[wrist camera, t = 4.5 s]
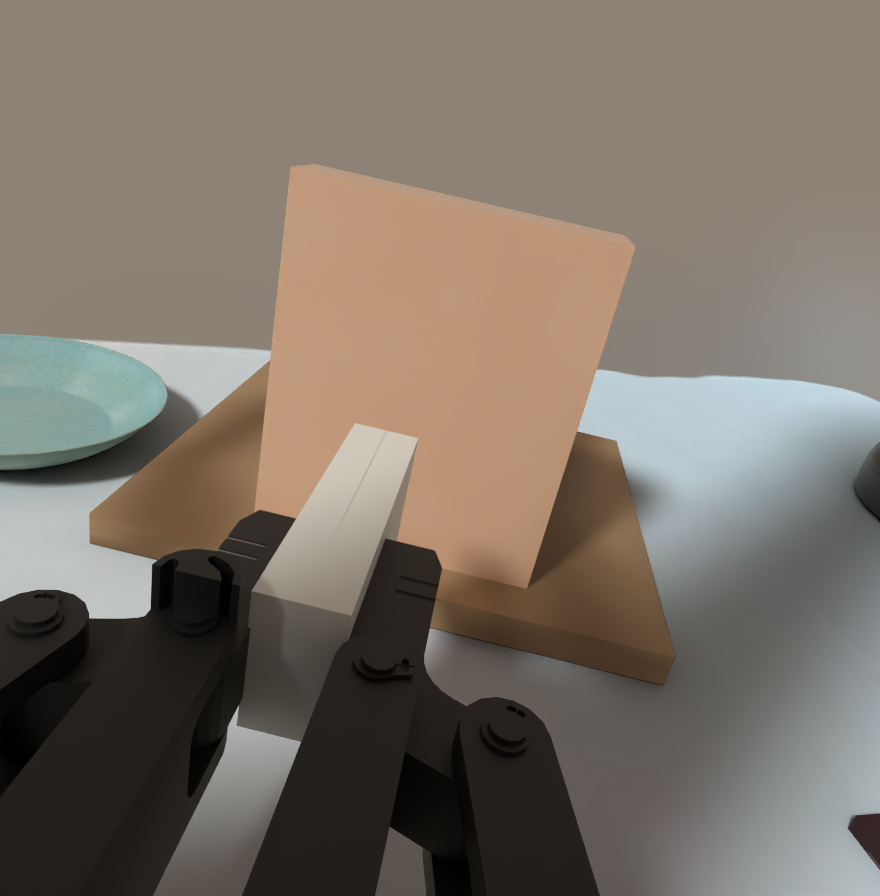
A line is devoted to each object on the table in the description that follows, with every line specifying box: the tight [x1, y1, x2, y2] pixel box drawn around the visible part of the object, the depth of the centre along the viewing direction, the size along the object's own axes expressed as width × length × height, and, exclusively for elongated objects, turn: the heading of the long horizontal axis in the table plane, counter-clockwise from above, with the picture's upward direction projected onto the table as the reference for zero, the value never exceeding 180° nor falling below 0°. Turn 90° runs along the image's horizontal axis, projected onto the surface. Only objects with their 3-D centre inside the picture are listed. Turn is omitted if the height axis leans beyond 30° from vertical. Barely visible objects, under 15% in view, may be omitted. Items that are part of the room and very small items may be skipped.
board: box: [90, 361, 675, 685], centre depth 32 cm, size 20×18×1 cm
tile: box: [254, 164, 635, 589], centre depth 23 cm, size 10×3×12 cm, turn 83°
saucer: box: [0, 334, 168, 470], centre depth 29 cm, size 12×12×2 cm
